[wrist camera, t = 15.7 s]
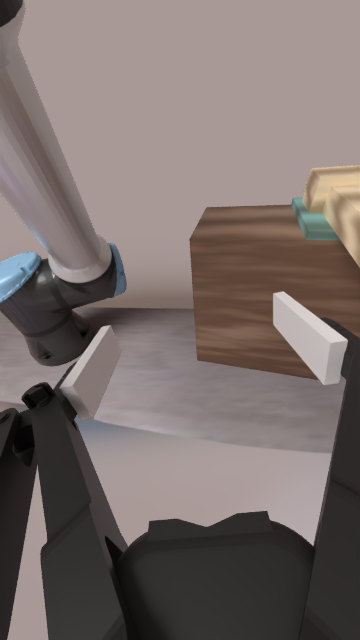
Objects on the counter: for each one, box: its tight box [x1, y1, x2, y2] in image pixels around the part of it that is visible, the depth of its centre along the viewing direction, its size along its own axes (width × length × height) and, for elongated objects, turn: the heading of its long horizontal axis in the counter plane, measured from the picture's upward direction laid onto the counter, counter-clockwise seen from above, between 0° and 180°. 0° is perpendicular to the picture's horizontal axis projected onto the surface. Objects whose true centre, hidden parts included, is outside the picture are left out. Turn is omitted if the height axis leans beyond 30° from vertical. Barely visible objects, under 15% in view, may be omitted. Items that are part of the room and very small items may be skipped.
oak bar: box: [302, 165, 360, 267], centre depth 22 cm, size 21×6×4 cm, turn 165°
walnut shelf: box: [190, 197, 360, 380], centre depth 38 cm, size 14×26×29 cm, turn 75°
